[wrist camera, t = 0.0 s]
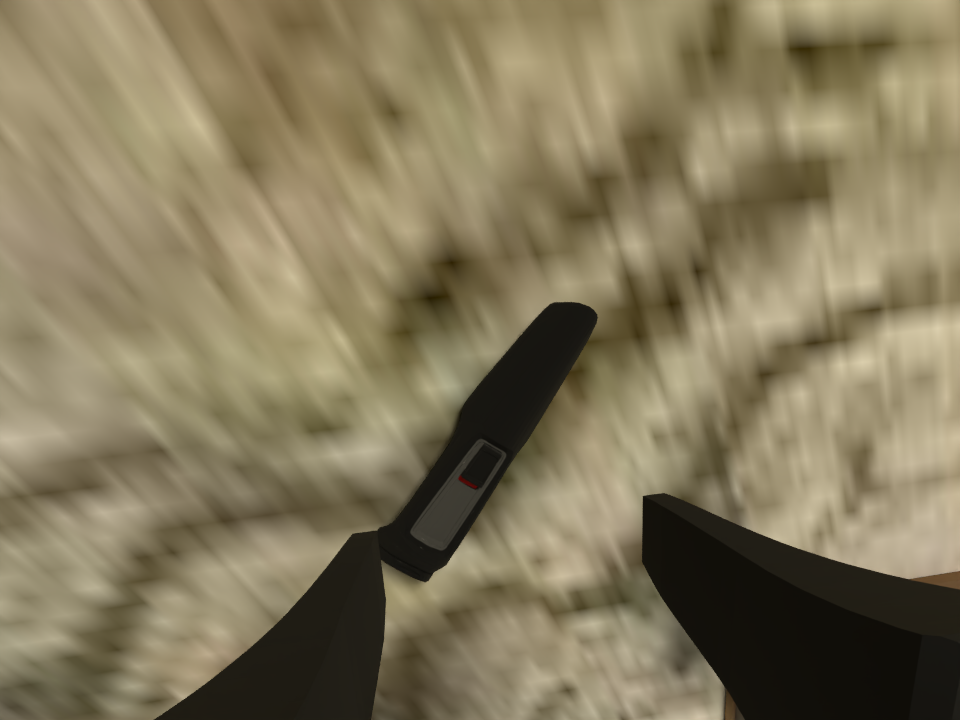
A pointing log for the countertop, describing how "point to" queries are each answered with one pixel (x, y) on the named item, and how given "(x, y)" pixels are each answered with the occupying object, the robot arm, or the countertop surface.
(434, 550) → the electric trimmer
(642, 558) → the robot arm
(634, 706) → the countertop surface
